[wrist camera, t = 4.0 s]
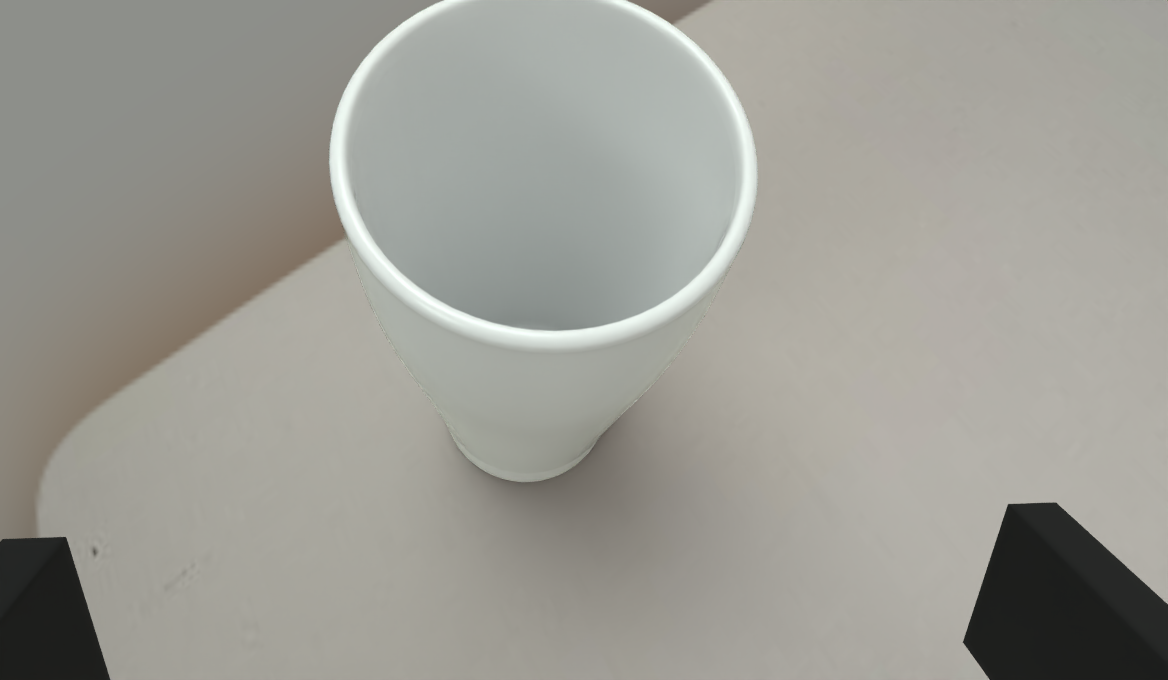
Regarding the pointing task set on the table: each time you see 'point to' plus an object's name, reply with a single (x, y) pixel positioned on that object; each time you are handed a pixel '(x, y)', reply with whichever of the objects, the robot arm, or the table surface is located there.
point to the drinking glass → (540, 212)
